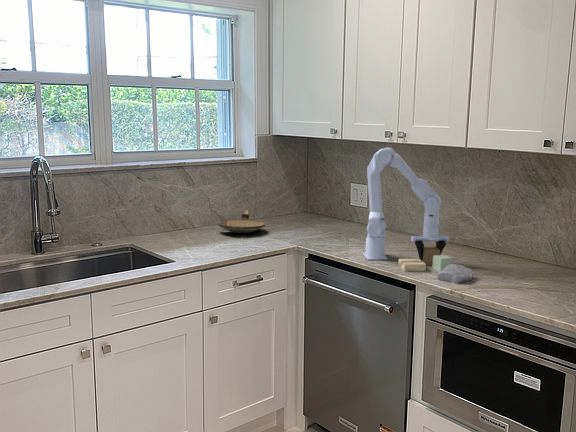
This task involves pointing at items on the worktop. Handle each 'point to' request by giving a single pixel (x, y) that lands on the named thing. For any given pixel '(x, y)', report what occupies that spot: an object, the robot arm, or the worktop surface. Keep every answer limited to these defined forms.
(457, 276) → the stone block
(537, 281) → the worktop surface
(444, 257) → the sage cube
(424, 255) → the walnut cube
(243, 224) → the oil lamp
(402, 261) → the oak block
